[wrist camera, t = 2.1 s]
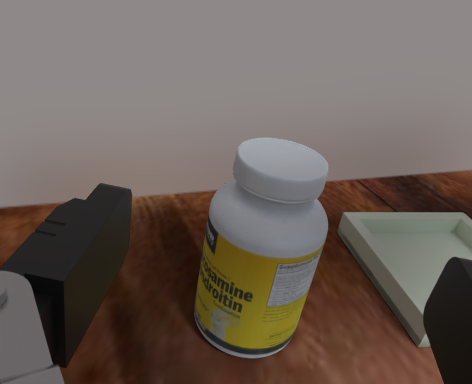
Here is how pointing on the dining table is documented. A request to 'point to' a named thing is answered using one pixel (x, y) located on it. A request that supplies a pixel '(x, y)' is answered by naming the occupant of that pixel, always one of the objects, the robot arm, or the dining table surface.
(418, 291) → the dish
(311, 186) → the pill bottle
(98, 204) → the robot arm
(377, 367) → the dining table surface
